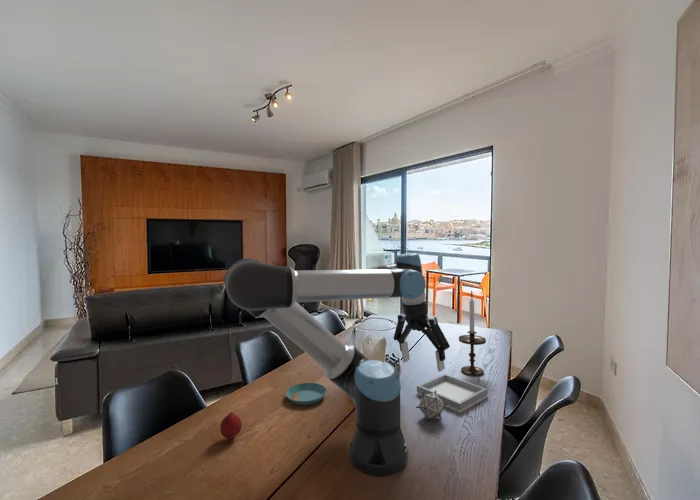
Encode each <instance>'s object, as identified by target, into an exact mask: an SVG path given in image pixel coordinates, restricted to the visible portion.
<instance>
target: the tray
mask: <svg viewBox="0 0 700 500" xmlns="http://www.w3.org/2000/svg"><path fill="white" fill-rule="evenodd" d="M435 390H436V394H437V395H438V397H439V398H440V399H441V400H442V401H443V403H444V404H447V405H445V406H444V408H448V409H450V410H453V411H455V412H456V413H459V414H461V413H462V412H464V411H466V410H468V409H469V408H471V407H473V406H475V405H477V404H478V403H480V402H482V401H483V400H485V399H487V398H488V388H486V387H484V386H480V385H477V384H474V383H472V382H469V381H467V380H463V379H460V378H458V377H455V376H452V375H449V374H447V373H443V374H441V375H439V376H436V377H434V378H431V379H429V380H426V381H425V382H423V383H420V384H418V385H416V395H419V396H421V397H423V395H422V393H423V394H424V395H425V394H430V393H435Z"/></svg>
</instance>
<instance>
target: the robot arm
mask: <svg viewBox="0 0 700 500" xmlns="http://www.w3.org/2000/svg"><path fill="white" fill-rule="evenodd" d="M422 267H423V266H422V262H421V256H420V254H419V253H416V252H408V253H406V252H405V253H400V254H397V255H396V256H395V262H394V263H390V264H384V265H381V266H375V267H374V266H372V267H370V268H367V269H324V270H323V269H316V270H315V269H314V270H311V269H307V270H301V269H300V270H298V269H297V270H295V269H293V267H291V265H290V266H289V265H287V266H283V265H282V266H281V265H272V264H267V263H264V262H261V261H259V260H257V259H254V258H243V259H240V260H238V261H235V262H234V263H233V264H232V265H230V266H229V268H228V269H227V270H226V273H225V275H224V279H223V286H224V289H225V292H226V294H227V296H228V299H229V300H230V301H231V303H233V304H234V305H235V306H237V307H238V308H240V309H242V310H245V311H247V312H248V313H249V314H250V315H252V317H254V318H255V319H258V318H264V319H265V320H267V321H268V322H269V323H270V324H272V325H273V326H274V327H275V328H277V329H278V330H279V331H280V332H281V333H283V334H284V335H285V337H287V338H288V339H289V340H291V341H292V342H293V343H294V344H295V345H296V346H298V347H299V348H300V349H301V350H302V351H304V352H305V353H306V354H307V355H308V356H309V357H311V358H312V359H313V360H314V361H315V362H317V363H318V365H320V366H322V368H324V375H325V377H326V378H327V379H328V380H330V382H332V383H333V384H335V385H336V386H337V387H338V388H339V389H340V390H342V391H343V392H344V394H345V395H347V397H348V398H349V399H350V400H351V401H352V402H353V404H354V405H355V406H354V407H355V429H354V432H353V435H352V440H351V442H350V444H349V460H350V462H351V464H352V466H353V467H354V468H355V469H357V470H358V471H360V472H362V473H364V474H367V475H369V476H374V477H375V476H377V477H380V476H381V477H383V476H391V475H394V474H396V473H398V472H400V471H402V470H403V469H404V468H405V467H406V465H407V463H408V459H409V458H408V452H409V450H408V446H407V443H406V441H405V440H406V439H405V437H404V434H403V430H402V428H401V389H402V388H401V387H402V386H401V385H402V384H401V379H400V374H399V371H398V369H397V368H396V367H395V366H394V365H392V364H391V363H388V362H387V361H384V362H383V361H382V360H378V359H369V358H368V357H366V356H365V355H364V354H363V353H362V352H361V350H358V348H356V346H354V345H353V344H352V343H344V342H342V341H341V340H340V339H339V338H338V337H336V336H335V335H334V334H333V333H332V332H331V331H329V330H328V328H326V327H325V326H324V325H323V324H322V323H321V322H319V320H318V319H316V318H315V317H314V316H313V315H312V314H310V313H309V312H308V311H307V310H306V309H305V308H304V307H303V306H302V305H301V304H299V303H311V302H312V303H313V302H330V301H332V302H333V301H349V300H362V299H363V300H366V299H383V298H384V299H385V298H401V301H402V308H403V312H402V313H400V314H399V315H397V324H396V327H395V330H394V334H393V335H394V336H393V340H394V341H397V343H398V346H399V350H400V352H401V356H402V362H403V363H406V362H409V361H410V359H411V357H410V351H409V344H408V343H409V342H408V340H407V338H408V336H409V334H410V333H411V331H418V332H422V333H421V334H424V335H425V336H426V337H427V339H428V340H429V341H430V343H431V344H432V345H433V346H434V348H435V349H436V350H435V351H434V352H435V360H436V366H437V372H439V373H441V372H442V371H444V370H445V368H446V367H445V360H446V354H445V353H446V350H448V349H449V348H450V347H451V345H450V344H449V342H448V340H447V338H446V336H445V334H444V332H443V331H442V329H441V327H440V325H439V323H438V318H437V317H436V316H434V317H428V306H427V305H428V304H427V301H426V299H427V298H426V291H425V290H426V285H427V284H426V279H425V276H424V275H423V268H422ZM405 322H406V325H405Z"/></svg>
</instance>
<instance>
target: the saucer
mask: <svg viewBox="0 0 700 500" xmlns="http://www.w3.org/2000/svg"><path fill="white" fill-rule="evenodd" d="M327 391H328V390H327V387H326V386H324V385H323V384H321V383H316V382H302V383H298V384H294V385H293V386H290V387H289V388H288V389H286V391H285V396H286V398H287V399H288V400H289V401H291V402H292V403H293V404H295V405H298V404H299V405H298V406H309V405H314V404H317V403H319V402H320V401H321V400H322V399H323V398H324V397H325V395H326V394H327ZM297 392H298V393H299V395H298V394H297V396H298V399H299V398H300V399H301V400H300V401H297V400H293V399H291V397H292V395H293V394H295V393H297ZM295 396H296V395H295ZM297 396H296V399H297Z"/></svg>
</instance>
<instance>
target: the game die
mask: <svg viewBox="0 0 700 500" xmlns="http://www.w3.org/2000/svg"><path fill="white" fill-rule="evenodd" d="M422 395H423V396H421V400H420V402H419V404H418V405H417V406H415V408H416V409H419V410H420V411H421V412H422V414H423V416H425V418H426V422H427V423H428V422H429V420H431V419H436V418H439V419H440V420H442V412H443V410H444V409H445V405H447V404H444V403H443V401H442V400H441V399H440V398H439V397H438V395H437V394H436V390H435V393H430V394H425V395H424V394H423V393H422Z"/></svg>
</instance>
